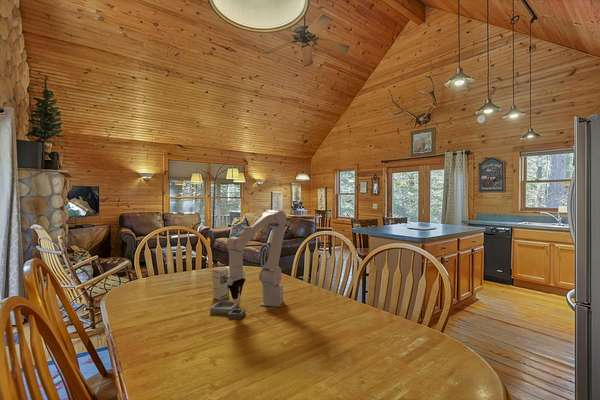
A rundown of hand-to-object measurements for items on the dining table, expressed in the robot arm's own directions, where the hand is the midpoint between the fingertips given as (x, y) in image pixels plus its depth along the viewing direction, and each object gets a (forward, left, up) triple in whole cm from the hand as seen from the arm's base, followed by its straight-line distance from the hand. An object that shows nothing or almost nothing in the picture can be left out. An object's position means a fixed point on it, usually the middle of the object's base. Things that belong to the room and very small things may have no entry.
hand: (236, 297), depth 130 cm
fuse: (0, 0, -2) cm, 2 cm away
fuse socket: (0, 0, -8) cm, 8 cm away
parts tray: (+8, -5, -8) cm, 12 cm away
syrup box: (+17, -21, -8) cm, 29 cm away
